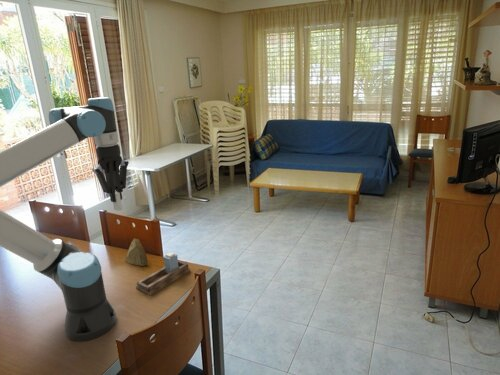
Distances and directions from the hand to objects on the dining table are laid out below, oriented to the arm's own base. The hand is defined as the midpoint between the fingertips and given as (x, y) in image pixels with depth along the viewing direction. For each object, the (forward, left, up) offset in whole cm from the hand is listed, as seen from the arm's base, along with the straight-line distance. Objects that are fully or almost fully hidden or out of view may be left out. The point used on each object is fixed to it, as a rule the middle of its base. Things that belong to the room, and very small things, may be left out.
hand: (118, 209), depth 130 cm
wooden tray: (+9, -9, -30) cm, 33 cm away
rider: (+13, -9, -29) cm, 33 cm away
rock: (+11, +11, -31) cm, 34 cm away
